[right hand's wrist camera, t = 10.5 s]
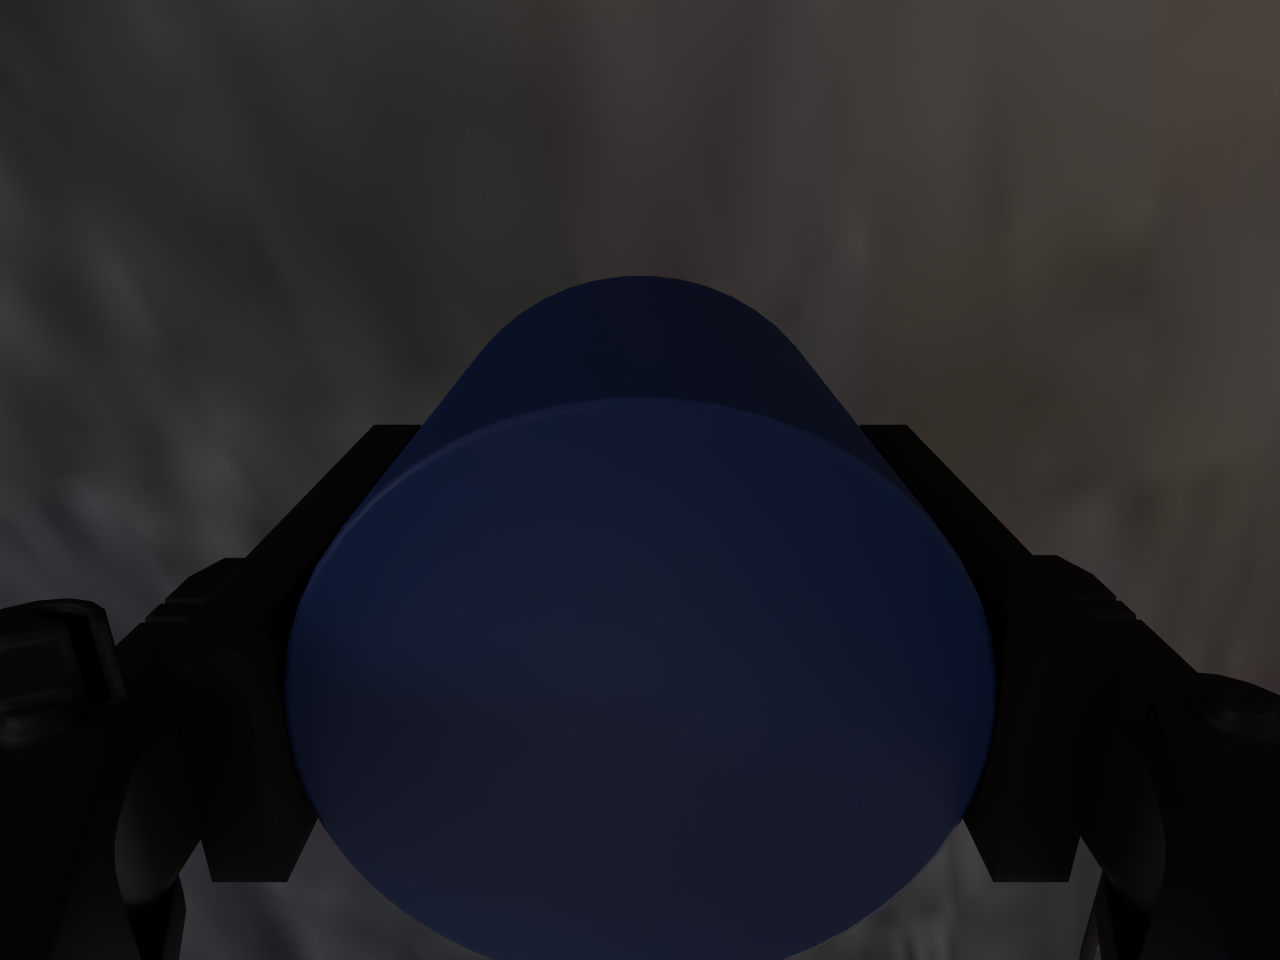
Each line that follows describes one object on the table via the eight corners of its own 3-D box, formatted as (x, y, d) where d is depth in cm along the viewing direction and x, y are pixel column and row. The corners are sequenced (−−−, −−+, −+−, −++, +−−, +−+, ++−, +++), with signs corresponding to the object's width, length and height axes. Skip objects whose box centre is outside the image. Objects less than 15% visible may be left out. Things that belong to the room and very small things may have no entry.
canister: (377, 357, 14) (137, 547, 7) (773, 212, 13) (911, 277, 7) (533, 682, 17) (461, 1046, 10) (876, 578, 16) (1054, 900, 9)
